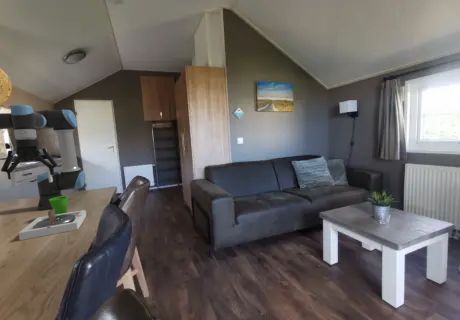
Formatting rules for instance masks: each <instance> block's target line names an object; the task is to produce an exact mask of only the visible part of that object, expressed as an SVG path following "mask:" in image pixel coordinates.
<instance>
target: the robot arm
mask: <svg viewBox="0 0 460 320" xmlns="http://www.w3.org/2000/svg"><path fill="white" fill-rule="evenodd" d="M77 127H78V120H77V118H76V115H75V113H74V112H73V111H72V110H70V109H45V110H44V109H43V110H35V111H34V109H33V107H32V106H31V105H28V104H13V105H11V106H10V112H9V113H8V112H7V113H5V112H4V113H3V112H2V113H1V112H0V130H12V129H13V132H14V138H15V139H16V140H15V146H16V150H8V151H7V157H6V158H5V160H4V163H3V165H2V167H1V170H0V172H3V173H7V179H8V180H10V181H11V187H12V188H13V187H16V186H18V183H17V178H16V172H15V171H14V170H15V169H16V168H17V166H18V165H19V164H20V163H21V162H22V161H23V160H33V159H36V160H38V161H39V162H41V163H42V164H43V165H45V166H46V167H47V169H46V171H47V172H46V173H43V174H40V175H38V176H37V177H36V183H37V190H38V195H39V199H38V202H37V209H38V210H39V211H48V210H51V209H52V206H51V204H50V201H49V199H51V198H55V197H60V196H63V194H62V191H67V190H76V189H81V188H83V187H84V186H85V182H86V173H85V171H83V170H82V168H81V167H79V166H78V159H77V152H76V146H75V145H76V144H75V140H74V132H75V130H76V129H75V128H77ZM36 129H53V132H55V133H56V136H57V142H58V147H59V153H60V160H61V165H62V169H61V170H60V173H59V172H58V171H55V170H54V168H56V167H58V166H59V165H58V163H57V162H56V161H55V160H54V158H53V157H52V156H51V155H50V153H49V151H48V149H47V147H44V148H39V143H38V139H37V138H38V137H37V131H36ZM40 153H41V154H43V155H44V156H45V157H46V159H47V160H48V161H49V162H48V161H47V160H46V159H44V158H43V157H42V156H41V155H40ZM16 154H17V156H18V157H17V158H16V160H14V161H13V159H14V156H16ZM12 161H13V163H12ZM11 163H12V164H11Z"/></svg>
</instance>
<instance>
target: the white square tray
mask: <svg viewBox="0 0 460 320" xmlns="http://www.w3.org/2000/svg"><path fill="white" fill-rule="evenodd" d="M67 214H72V215H75V220H74V221H73V222H71V223H66V224H60V225H54V226H51V225H49V226H48V227H43V228H37V229H36V224H37V223H38V222H40V221H42V220H44V219H47V218H49V217H48V215H46V216H39V217H37V218H35V219H34V220H32V222H30V223H29V224H28V225H26V227H24V228H23V229H22V230H20V231H19V232H18V238H19V241H25V240H30V239H36V238H41V237H45V236H51V235H56V234H61V233H66V232H71V231H78V230H79V229H80V226H81V225H82V223H83V222H84V220H85V219H86V218H87V211H86V209H83V210H77V211H71V212H67V213H63V214H57V215H56V216H59V215H67Z"/></svg>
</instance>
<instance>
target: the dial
mask: <svg viewBox="0 0 460 320" xmlns="http://www.w3.org/2000/svg"><path fill="white" fill-rule="evenodd" d="M47 216H48V217H49V218H47V219H44V220H42V221H40V222H38V223H37V224H36V229H37V228H43V227H48V226H49V225H51V226H54V225H60V224H66V223H71V222H73V221H74V220H75V215H72V214H67V215H59V216H56V215H55V209H49V211H47Z"/></svg>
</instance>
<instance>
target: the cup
mask: <svg viewBox="0 0 460 320" xmlns="http://www.w3.org/2000/svg"><path fill="white" fill-rule="evenodd" d="M68 198H69V197H68V195H62V196H60V197H55V198H51V199H49V201H50V204H51V206H52V209H55V215H57V214H63V213H68V212H67V211H68Z"/></svg>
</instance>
